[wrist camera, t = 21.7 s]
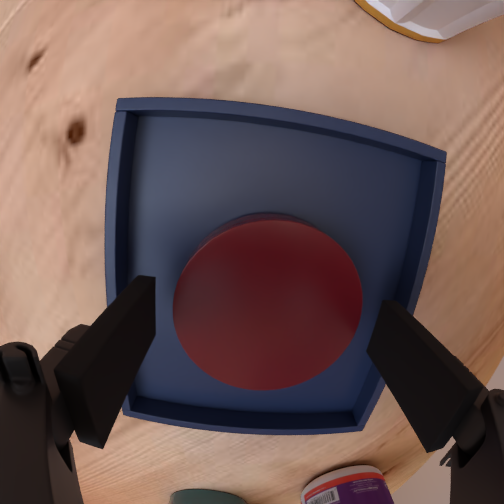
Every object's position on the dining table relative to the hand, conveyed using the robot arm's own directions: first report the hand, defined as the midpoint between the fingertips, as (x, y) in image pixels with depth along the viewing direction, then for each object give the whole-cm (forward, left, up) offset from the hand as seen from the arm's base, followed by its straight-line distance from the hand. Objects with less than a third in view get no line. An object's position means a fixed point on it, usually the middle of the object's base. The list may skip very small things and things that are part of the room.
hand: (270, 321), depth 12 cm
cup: (+20, -6, -3) cm, 21 cm away
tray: (0, 0, -3) cm, 3 cm away
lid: (0, 0, -1) cm, 1 cm away
